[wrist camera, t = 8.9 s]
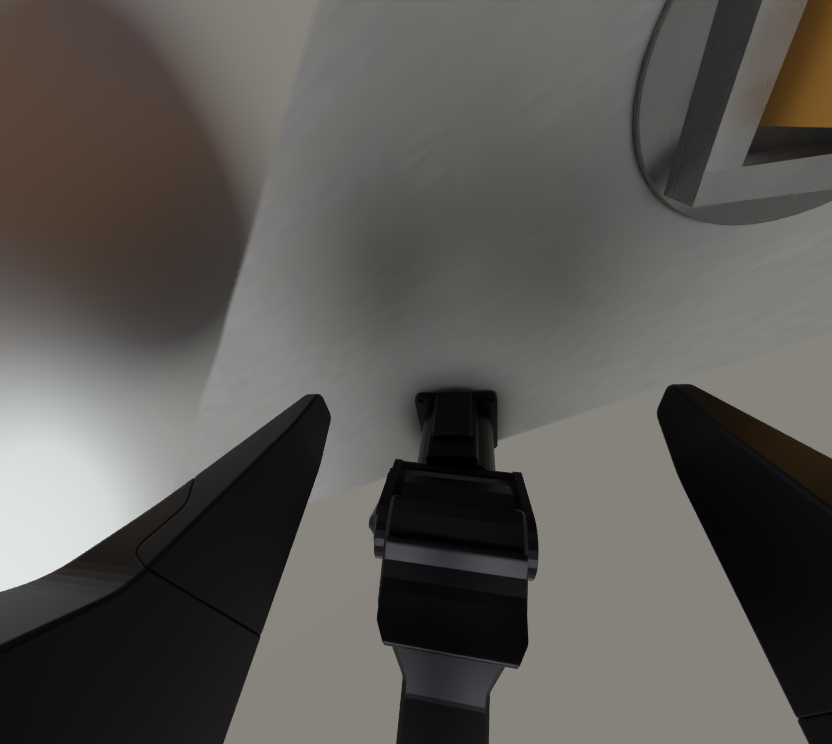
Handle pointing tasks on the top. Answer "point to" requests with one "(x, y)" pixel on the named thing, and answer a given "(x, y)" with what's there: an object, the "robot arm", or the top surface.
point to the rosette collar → (725, 115)
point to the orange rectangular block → (805, 74)
